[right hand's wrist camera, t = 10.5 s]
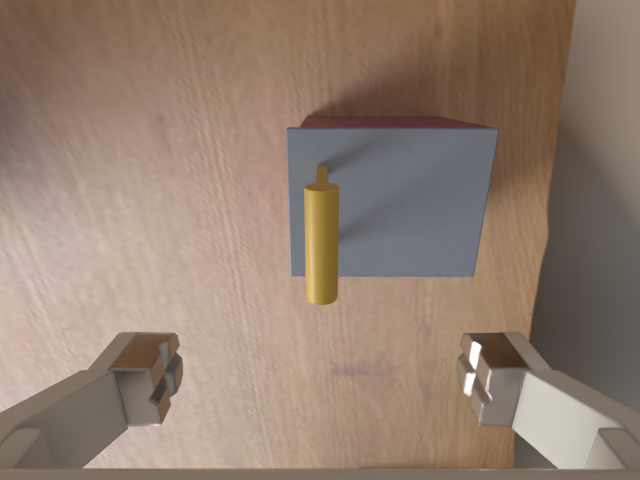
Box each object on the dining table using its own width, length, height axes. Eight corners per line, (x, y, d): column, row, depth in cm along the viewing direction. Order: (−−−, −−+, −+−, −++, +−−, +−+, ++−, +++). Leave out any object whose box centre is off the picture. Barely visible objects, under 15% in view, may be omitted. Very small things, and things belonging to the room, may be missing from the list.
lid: (291, 271, 27) (279, 339, 19) (286, 127, 23) (270, 143, 16) (469, 271, 27) (525, 339, 19) (493, 127, 23) (574, 143, 16)
